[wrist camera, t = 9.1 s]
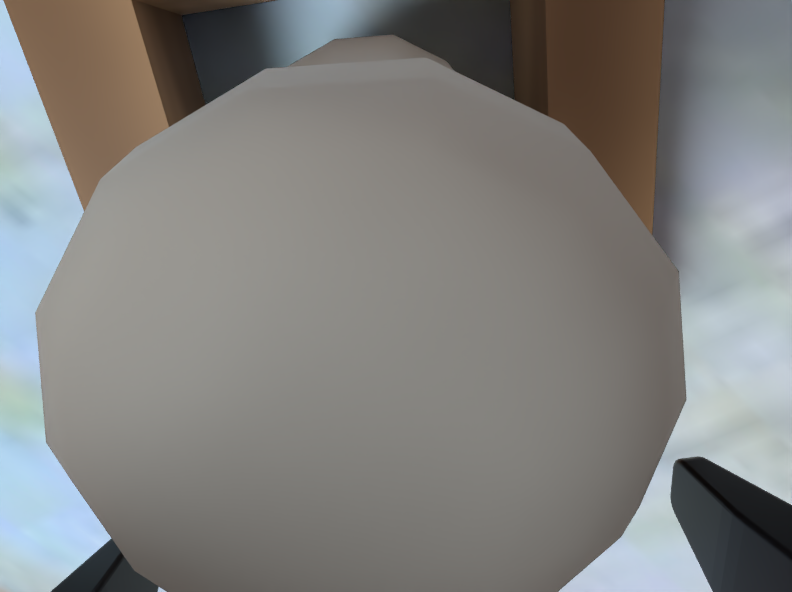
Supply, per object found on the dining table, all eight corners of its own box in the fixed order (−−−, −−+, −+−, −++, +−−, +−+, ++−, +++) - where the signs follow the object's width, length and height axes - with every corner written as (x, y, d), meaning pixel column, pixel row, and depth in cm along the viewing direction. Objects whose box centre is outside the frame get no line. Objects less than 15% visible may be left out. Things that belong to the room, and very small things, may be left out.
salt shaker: (238, 77, 14) (-615, 66, 2) (446, 12, 13) (1018, -524, 2) (311, 274, 16) (130, 841, 4) (491, 223, 16) (870, 686, 4)
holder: (608, -178, 12) (677, -254, 9) (601, 331, 17) (644, 379, 14) (46, -87, 12) (-49, -135, 10) (205, 388, 18) (174, 446, 15)
